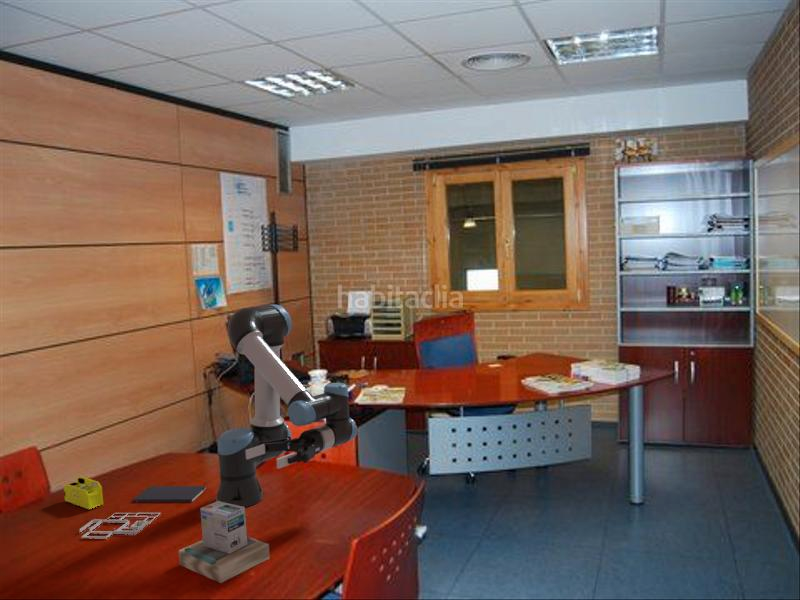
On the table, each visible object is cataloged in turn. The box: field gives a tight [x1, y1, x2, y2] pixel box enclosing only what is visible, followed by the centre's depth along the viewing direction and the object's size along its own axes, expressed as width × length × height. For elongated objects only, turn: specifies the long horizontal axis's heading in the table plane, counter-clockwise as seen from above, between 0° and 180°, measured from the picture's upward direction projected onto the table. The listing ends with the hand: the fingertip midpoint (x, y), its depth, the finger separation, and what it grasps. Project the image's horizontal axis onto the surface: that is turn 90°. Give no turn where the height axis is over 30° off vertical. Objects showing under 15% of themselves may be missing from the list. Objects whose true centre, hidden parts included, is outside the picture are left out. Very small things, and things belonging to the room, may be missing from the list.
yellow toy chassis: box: [63, 475, 104, 510], centre depth 231 cm, size 16×6×8 cm, turn 53°
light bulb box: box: [199, 501, 248, 554], centre depth 183 cm, size 11×7×11 cm, turn 57°
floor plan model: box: [78, 512, 162, 540], centre depth 207 cm, size 19×25×2 cm
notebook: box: [131, 485, 207, 503], centre depth 236 cm, size 13×2×21 cm
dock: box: [178, 535, 271, 584], centre depth 183 cm, size 18×16×5 cm
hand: (261, 459), depth 192 cm, fingers open, 13 cm apart
